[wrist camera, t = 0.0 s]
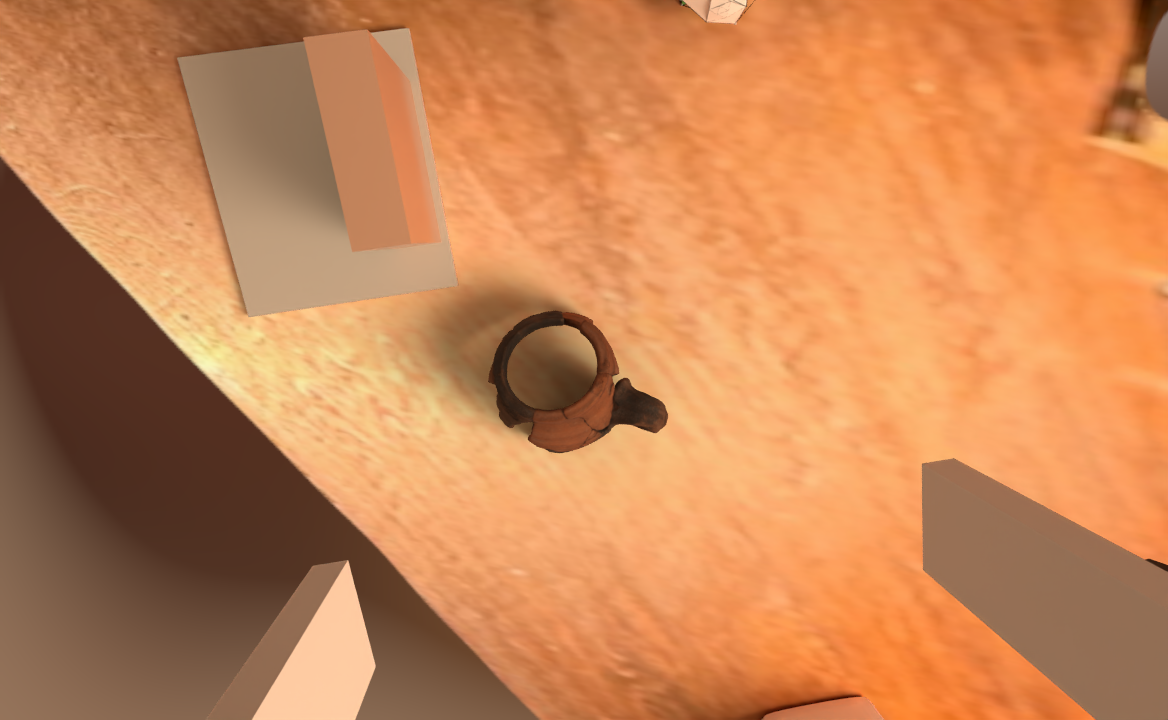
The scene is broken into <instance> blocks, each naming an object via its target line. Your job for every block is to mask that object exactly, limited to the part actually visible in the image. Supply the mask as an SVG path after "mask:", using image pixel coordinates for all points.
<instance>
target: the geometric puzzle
mask: <svg viewBox="0 0 1168 720" xmlns="http://www.w3.org/2000/svg"><path fill="white" fill-rule="evenodd" d="M754 1H755V0H754ZM680 2H681V6H684V5H685V4H687V5H688V6H689V7H688V8H691V9H692V10H693V11H694V12H695V13H697V14H698V15H699V16H700V17H701V18H702V19H703V20H704V21H705V22H711V23H729V24H734V25H736V24H737V23H736V22H737V20H739V19H740V18H741V17H740V16H741V14H742V13H743V11H744V10H745V8H746V6H747V0H682V1H681V0H680ZM751 5H752V4H751ZM751 5H750V6H751ZM750 6H749V7H750ZM686 7H687V6H686ZM745 12H746V11H745ZM745 12H744V13H745ZM739 17H740V18H739Z"/></svg>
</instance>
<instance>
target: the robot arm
mask: <svg viewBox="0 0 1168 720" xmlns="http://www.w3.org/2000/svg"><path fill="white" fill-rule="evenodd" d="M922 517H923V570H924V571H925V572H926V573H927V574H928V575H930V576H931V577H932V578H933V579H934V580H935V581H936V582H938V583H939V584H940V585H941V586H942V587H943V588H945V589H946V590H947V591H948V592H949V593H950V594H951V595H953V596H954V597H955V598H956V599H957V600H958V601H960V602H961V603H962V604H963V605H964V606H965V607H966V608H968V609H969V610H970V611H971V612H972V613H973V614H975V615H976V616H977V617H978V618H979V619H980V620H981V621H983V622H984V623H985V624H986V625H987V626H988V627H990V628H991V629H992V630H993V631H994V632H995V633H997V634H998V635H999V636H1000V637H1001V638H1002V639H1003V640H1005V641H1006V642H1007V643H1008V644H1009V645H1010V646H1012V647H1013V648H1014V649H1015V650H1016V651H1017V652H1018V653H1020V654H1021V655H1022V656H1023V657H1024V658H1025V659H1027V660H1028V661H1029V662H1030V663H1031V664H1032V665H1033V666H1035V667H1036V668H1037V669H1038V670H1039V671H1040V672H1042V673H1043V674H1044V675H1045V676H1046V677H1047V678H1049V679H1050V680H1051V681H1052V682H1053V683H1054V684H1055V685H1057V686H1058V687H1059V688H1060V689H1061V690H1062V691H1064V692H1065V693H1066V694H1067V695H1068V696H1069V697H1070V698H1072V699H1073V700H1074V701H1075V702H1076V703H1077V704H1079V705H1080V706H1081V707H1082V708H1083V709H1084V710H1085V711H1087V712H1088V713H1089V714H1090V715H1091V716H1092V717H1094V718H1095V719H1096V720H1168V565H1166V564H1163V563H1160V562H1157V561H1154V560H1151V559H1146V560H1144V559H1142V558H1140V557H1139V556H1137V555H1135V554H1133V553H1131V552H1129V551H1127V550H1125V549H1123V548H1122V547H1120V546H1118V545H1116V544H1114V543H1112V542H1110V541H1108V540H1107V539H1105V538H1103V537H1101V536H1099V535H1097V534H1095V533H1093V532H1091V531H1090V530H1088V529H1086V528H1084V527H1082V526H1080V525H1078V524H1076V523H1075V522H1073V521H1071V520H1069V519H1067V518H1065V517H1063V516H1061V515H1059V514H1058V513H1056V512H1054V511H1052V510H1050V509H1048V508H1046V507H1044V506H1043V505H1041V504H1039V503H1037V502H1035V501H1033V500H1031V499H1029V498H1027V497H1026V496H1024V495H1022V494H1020V493H1018V492H1016V491H1014V490H1012V489H1010V488H1009V487H1007V486H1005V485H1003V484H1001V483H999V482H997V481H995V480H994V479H992V478H990V477H988V476H986V475H984V474H982V473H980V472H978V471H977V470H975V469H973V468H971V467H969V466H967V465H965V464H963V463H962V462H960V461H958V460H956V459H948V460H942V461H936V462H930V463H924V464H922ZM375 667H376V666H375V663H374V658H373V655H372V651H371V647H370V643H369V639H368V635H367V632H366V628H365V624H364V620H363V616H362V612H361V608H360V605H359V601H358V597H357V593H356V590H355V586H354V582H353V578H352V574H351V570H350V567H349V563H348V560H346V561H340V562H334V563H328V564H322V565H316V566H312V568H311V569H310V571H309V572H308V574H307V575H306V576H305V578H304V579H303V581H302V582H301V584H300V585H299V587H298V588H297V589H296V591H295V592H294V594H293V595H292V597H291V598H290V600H289V601H288V602H287V604H286V605H285V607H284V608H283V609H282V611H281V612H280V614H279V615H278V617H277V618H276V619H275V621H274V622H273V624H272V625H271V627H270V628H269V629H268V631H267V632H266V634H265V635H264V637H263V638H262V640H261V641H260V643H259V644H258V645H257V647H256V648H255V650H254V651H253V653H252V654H251V655H250V657H249V658H248V660H247V661H246V662H245V664H244V665H243V667H242V668H241V670H240V671H239V673H238V674H237V675H236V677H235V678H234V680H233V681H232V683H231V684H230V685H229V687H228V688H227V690H226V691H225V693H224V694H223V695H222V697H221V698H220V700H219V701H218V703H217V704H216V706H215V707H214V708H213V710H212V711H211V713H210V714H209V715H208V717H207V718H206V720H355V718H356V716H357V713H358V711H359V708H360V705H361V703H362V700H363V698H364V695H365V693H366V690H367V687H368V685H369V682H370V679H371V677H372V674H373V672H374V669H375Z"/></svg>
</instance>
